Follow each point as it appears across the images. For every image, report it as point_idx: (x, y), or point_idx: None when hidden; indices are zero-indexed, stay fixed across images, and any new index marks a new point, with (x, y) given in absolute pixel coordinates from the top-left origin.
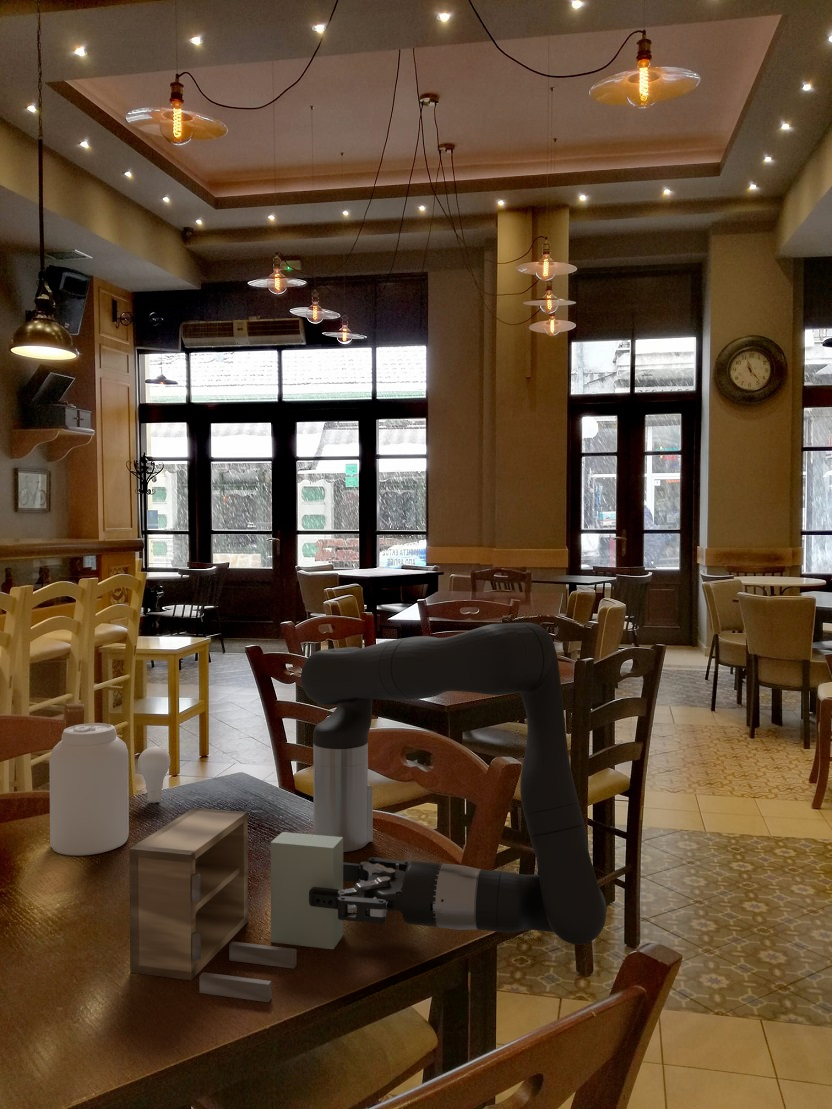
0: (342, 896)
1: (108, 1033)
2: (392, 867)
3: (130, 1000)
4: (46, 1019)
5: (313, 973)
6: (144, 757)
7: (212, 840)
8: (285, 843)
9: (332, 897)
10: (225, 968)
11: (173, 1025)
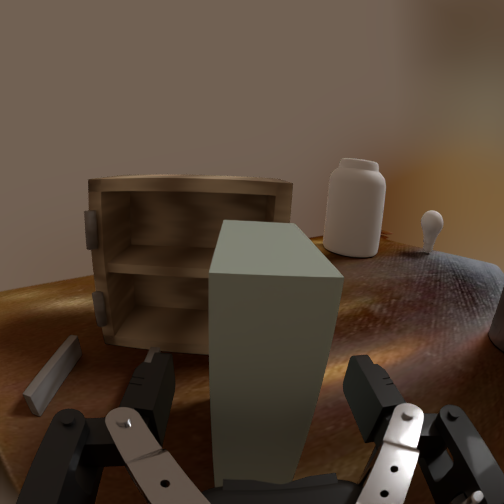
0: (72, 417)
1: (32, 313)
2: (465, 487)
3: (77, 315)
4: (67, 288)
5: (109, 470)
6: (424, 215)
7: (153, 181)
8: (223, 227)
9: (119, 406)
10: (132, 365)
11: (23, 343)
